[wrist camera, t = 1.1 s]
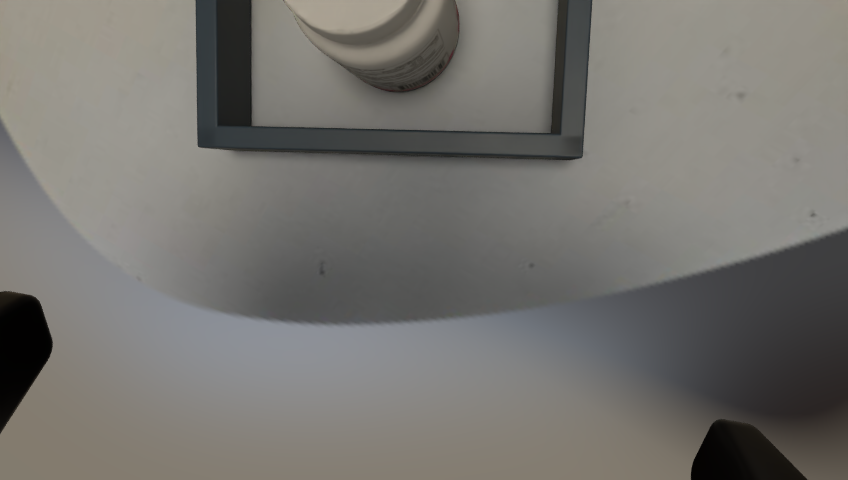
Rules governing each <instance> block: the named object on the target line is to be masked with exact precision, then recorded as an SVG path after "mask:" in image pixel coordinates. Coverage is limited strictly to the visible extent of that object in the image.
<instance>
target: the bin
mask: <svg viewBox="0 0 848 480" xmlns="http://www.w3.org/2000/svg"><path fill="white" fill-rule="evenodd" d="M591 12H592V0H559V3H558V21H557V39H556V57H555V75H554V93H553V111H552V129H551V133H513V132H472V131H430V130H388V129H347V128H305V127H263V126H251V74H250V0H196V58H197V134H198V147H201V148H212V149H223V150H234V151H269V152H304V153H339V154H374V155H409V156H444V157H478V158H513V159H548V160H573V159H579V158H582V156H583V141H584V125H585V109H586V93H587V77H588V61H589V44H590V28H591Z"/></svg>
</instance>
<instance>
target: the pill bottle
mask: <svg viewBox="0 0 848 480" xmlns="http://www.w3.org/2000/svg"><path fill="white" fill-rule="evenodd" d="M283 1H284V2H285V3H286V5H287V6H288V7H289V9H290V10H291V11H292V12H293V14H294V17H295V19H296V21H297V23H298V25H299V27H300V28H301V30H302V31H303V33H304V34H305V35H306V36H307V38H308V39H309V40H310V41H311V42H312V43H313V44H314V45H315V46H316V47H317V48H318V49H319V50H320V51H322V52H323V53H324V54H326V55H327V56H329V57H330V58H332V59H333V60H334V61H336V62H337V63H339V64H340V65H341V66H343V67H344V68H346V69H347V70H348V71H350V72H351V73H353V74H354V75H356V76H357V77H358V78H360V79H361V80H363V81H364V82H366V83H368V84H370V85H372V86H374V87H376V88H379V89H382V90H387V91H395V92H401V91H409V90H413V89H416V88H419V87H421V86H423V85H425V84H427V83H429V82H431V81H432V80H433V79H435V78H436V77H437V76H438V75H439V74H440V73H441V72H442V71H443V70H444V69H445V67H446V66H447V64H448V63H449V61H450V59H451V58H452V56H453V53H454V51H455V48H456V45H457V41H458V36H459V14H458V10H457V5H456V2H455V0H283Z"/></svg>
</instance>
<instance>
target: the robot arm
mask: <svg viewBox="0 0 848 480" xmlns="http://www.w3.org/2000/svg"><path fill="white" fill-rule="evenodd" d="M52 343H53V342H52V337H51V334H50V331H49V328H48V325H47V322H46V319H45V316H44V312H43V309H42V306H41V304H40V302H39V300H38V299H37V298H36V297H34V296H32V295H27V294H21V293H16V292H10V291H8V292H7V291H4V292H0V433H1V432H2V430H3V429H4V427H5V426H6V424H7V422H8V421H9V419H10V418H11V416H12V415H13V413H14V412H15V410H16V409H17V407H18V405H19V404H20V402H21V401H22V399H23V398H24V396H25V395H26V393H27V392H28V390H29V388H30V387H31V385H32V384H33V382H34V381H35V379H36V378H37V376H38V375H39V373H40V371H41V370H42V368H43V367H44V365H45V364H46V362H47V361H48V359H49V357H50V354H51V352H52V347H53V346H52V345H53V344H52ZM691 480H807V479H806V478H805V477H804V476H803V475H802V474H801V473H800V472H799V471H798V470H797V469H796V468H795V467H794V466H793V465H792V463H791V462H790V461H789V460H787V458H786V457H784V455H783V454H782V453H780V452H779V450H778V449H777V448H776V447H775V446H774V445H773V444H772V443H771V442H770V441H769V440H768V439H767V438H766V437H765V436H764V435H763V434H762V433H761V432H760V431H759V430H758V429H757V428H755V427H754V426H752V425H750V424H746V423H741V422H736V421H730V420H725V419H719V420H716V421H715V422H714V423H713V424H712V425H711V427H710V429H709V431H708V433H707V435H706V437H705V439H704V441H703V443H702V445H701V447H700V449H699V451H698V453H697V455H696V457H695V459H694V461H693V465H692V470H691Z"/></svg>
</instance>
